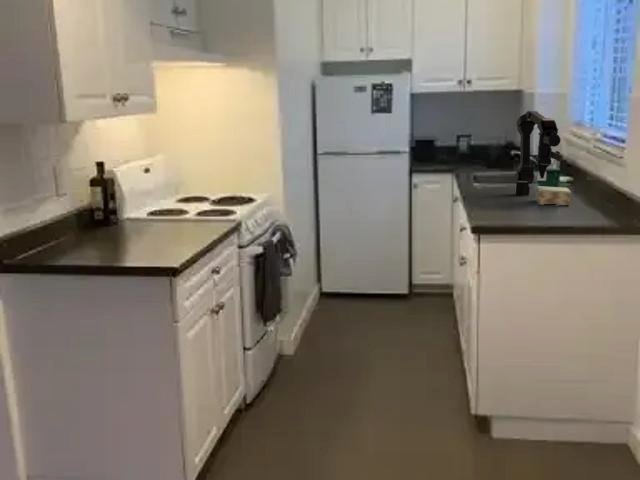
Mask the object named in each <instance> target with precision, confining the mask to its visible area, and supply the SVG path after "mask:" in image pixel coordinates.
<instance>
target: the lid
mask: <svg viewBox="0 0 640 480" xmlns="http://www.w3.org/2000/svg"><path fill="white" fill-rule="evenodd" d="M537 188H538V190H539V191H542V192H559V193H571V190H570V189H569V188H568V187H560V186H559V187H557V186H539V185H537V187H536V189H537Z"/></svg>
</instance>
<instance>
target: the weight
mask: <svg viewBox="0 0 640 480" xmlns="http://www.w3.org/2000/svg"><path fill="white" fill-rule="evenodd" d="M536 181H543V182H545V181H547V171H545V174H544V178H543V179H542V178H541V177H540V173H539V171H537V177H536Z"/></svg>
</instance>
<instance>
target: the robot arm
mask: <svg viewBox="0 0 640 480" xmlns="http://www.w3.org/2000/svg"><path fill="white" fill-rule="evenodd" d="M535 126H536V128H537V129H538V131H539V132H538V146H537V156H536V157H535V162H536V167H537V169H538V171H539V173H540V177H541V178H542V179H543V178H544V174H545V172H547V169H548V167H550V166H551V165H552V159H553V160H556V161H557V162H559V163H560V162H561V161H562V158H563V157H564V156H563V155H562V154H561V152H560V151H558V150H556V151H554V150H553V149H552V147H558V146H559V145H560V143H561V141H562V140H561V137H560V136H559V129H558V126H557V122H556V120H555V119H553V118H549V117H545V116H544V115H542V114H541V113H539V112H538V111H537V110H528V111H526V112H525V113H524V114H522V115H520V116H519V117H518V119H517V121H516V130H517V133H518V134H519V136H520V146H519V147H520V148H519V149H520V151H519V152H520V153H519V155H520V156H519V158H520V159H519V160H520V161H519V165H518V166H517V168H516V172H515V174H514V176H513V179H512V183H514V184H515V192H514V195H515V196H520V195H521V196H522V195H528V196H529V195H530V190H531V189H530V188H531V186H530V185H532V184H533V182H534V177H535V173H534V170H535V169H534V166H532V163H531V135H532V133H533V132H534V129H535ZM538 171H537V172H538Z"/></svg>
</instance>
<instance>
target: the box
mask: <svg viewBox="0 0 640 480" xmlns="http://www.w3.org/2000/svg"><path fill="white" fill-rule="evenodd" d="M536 200H537V201H536ZM535 201H536V203H537V202H538V203H537V205H544V204H569V205H570V201H571V193H559V192H542V191H539V190H538V188H537V187H536V196H535Z"/></svg>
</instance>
